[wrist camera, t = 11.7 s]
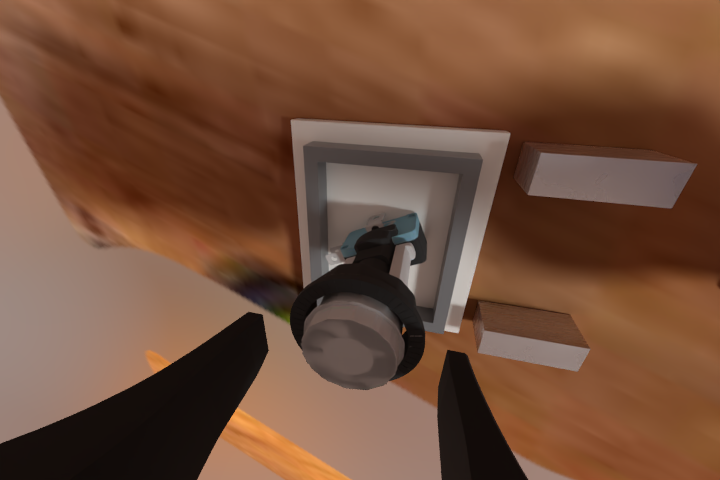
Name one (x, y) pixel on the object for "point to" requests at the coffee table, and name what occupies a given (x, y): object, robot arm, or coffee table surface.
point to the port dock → (399, 199)
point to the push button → (365, 307)
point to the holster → (581, 182)
